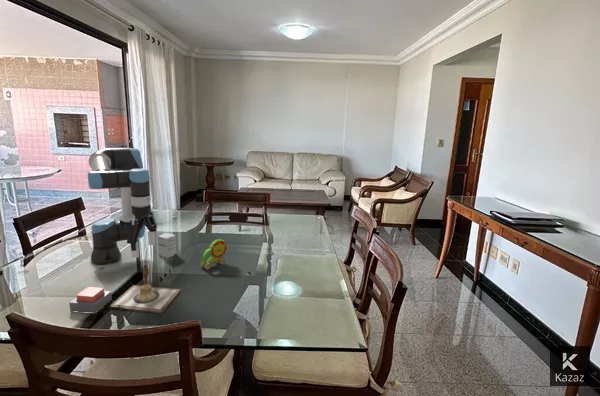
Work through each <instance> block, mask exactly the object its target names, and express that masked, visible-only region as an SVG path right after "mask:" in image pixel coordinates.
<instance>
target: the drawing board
mask: <svg viewBox="0 0 600 396" xmlns="http://www.w3.org/2000/svg"><path fill="white" fill-rule="evenodd" d="M141 286H142V285H139V284H138V285H136V284H132V286H131V287H129V288H128V289H127V290H125V292H124V293H122V294H121V295H120V296H119V297H118V298H116V300H114V301H112V303H111V304H110V305H111V307H119V306H120V307H121V308H122V307H123V308H125V309H129V310H128V311H133V310H134V311H135V312H142V313H144V312H145V313H156V314H163V313H164V312H165V310H166V309H167V308H168V307H169V306H170V304H172V302H173V301H174V299H176V297H177V296H178V295H179V294H180V292H182V291H181V290H182V289H179V288H169V287H158V286H151V287H152V291H153V292H154V293H155V294H156V297H155V298H154V299H152V300H150V301H145V302H141V301H138V300H137V296H138V295H139V293H140V290H141ZM168 305H169V306H168Z"/></svg>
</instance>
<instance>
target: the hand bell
mask: <svg viewBox="0 0 600 396" xmlns="http://www.w3.org/2000/svg"><path fill="white" fill-rule="evenodd" d="M149 271H150V270H149V267H148V265H147V264H144V265H143V268H142V276H143V284H142V285H140V286H141V290H140V293H139V295H138V296H137V300H138V301H141V302H145V301H150V300H152V299H154V298H155V297H156V294H155V293H154V292H153V291H152V287H153V286H152V285H151V284H149V280H148V277H149Z"/></svg>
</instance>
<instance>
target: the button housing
mask: <svg viewBox="0 0 600 396" xmlns="http://www.w3.org/2000/svg"><path fill="white" fill-rule="evenodd" d="M112 298H113V297H112V291H111V290H110V291H109V290H104V295H102V296H101V297H100V298H99V299H97V300H96V301H95V302H94V303H93V302H82V301H77V296H76V297H74V298H73V299H72V300H70V301H69V311H78V312H96V311H97V310H99V309H100V308H101V307H102V306H103V305H104V304H106V303H107V302H109V301H110V300H112V301H113V299H112ZM110 302H111V301H110ZM110 302H109V303H110Z"/></svg>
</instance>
